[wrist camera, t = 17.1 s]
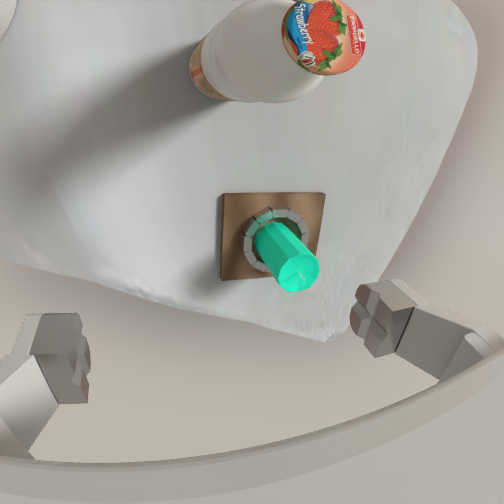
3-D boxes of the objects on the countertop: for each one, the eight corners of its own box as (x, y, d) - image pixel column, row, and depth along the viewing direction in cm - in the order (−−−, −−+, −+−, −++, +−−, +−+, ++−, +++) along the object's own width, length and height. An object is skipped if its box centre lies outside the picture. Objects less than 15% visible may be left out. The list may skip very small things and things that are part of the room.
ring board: (220, 277, 52) (221, 280, 52) (223, 193, 46) (224, 195, 45) (310, 269, 57) (312, 272, 56) (322, 192, 51) (325, 194, 50)
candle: (253, 224, 49) (282, 264, 38) (290, 218, 50) (327, 254, 40) (254, 259, 52) (282, 304, 41) (290, 253, 53) (323, 293, 43)
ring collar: (239, 269, 52) (242, 274, 50) (243, 206, 47) (246, 210, 45) (299, 264, 54) (303, 269, 53) (308, 205, 50) (312, 209, 48)
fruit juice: (182, 40, 34) (233, -42, 11) (252, 31, 36) (384, -29, 12) (194, 106, 39) (260, 125, 16) (262, 94, 41) (402, 109, 17)
